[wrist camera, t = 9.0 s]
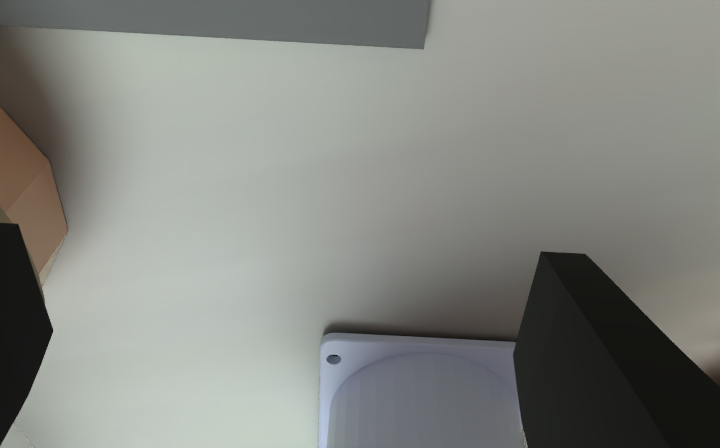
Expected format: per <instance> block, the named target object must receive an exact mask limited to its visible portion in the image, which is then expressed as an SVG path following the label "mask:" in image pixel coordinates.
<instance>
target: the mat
mask: <svg viewBox="0 0 720 448" xmlns="http://www.w3.org/2000/svg"><path fill="white" fill-rule="evenodd" d="M428 7H429V0H0V25H2V26H20V27H38V28H56V29H73V30H91V31H109V32H127V33H144V34H162V35H180V36H198V37H215V38H233V39H251V40H269V41H286V42H304V43H322V44H340V45H357V46H375V47H393V48H411V49H424V43H425V34H426V25H427V16H428Z"/></svg>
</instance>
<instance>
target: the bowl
mask: <svg viewBox="0 0 720 448" xmlns="http://www.w3.org/2000/svg"><path fill="white" fill-rule="evenodd" d="M0 207H1V208H2V209H3V211H4V212H5V213H6V215H7V216H8V218H9V219H10V220H11V222H12V223H15V224H19V227H20V230H21V233H22V236H23V239H24V242H25V245H26V247H27V248H28V250H29V252H30V255H31V257H32V260H33V262H34V265H35V267H36V269H37V272H38V274H39V278H40V282H41V286H42V285H43V283H44V282H45V280H46V277H47V275H48V273H49V271H50V269H51V267H52V264H53V262H54V260H55V258H56V256H57V254H58V252H59V249H60V247H61V245H62V243H63V241H64V239H65V236H66V234H67V232H68V228H67V224H66V221H65V217H64V213H63V210H62V206H61V202H60V199H59V195H58V191H57V188H56V184H55V180H54V177H53V173H52V169H51V166H50V162H49V160H48V159H47V158H46V157H45V156H44V155H43V153H42V152H41V151H40V150H39V149H38V148H37V147H36V146H35V145H34V144H33V142H32V141H31V140H30V139H29V138H28V137H27V136H26V135H25V134H24V132H23V131H22V130H21V129H20V128H19V127H18V126H17V125H16V124H15V122H14V121H13V120H12V119H11V118H10V117H9V116H8V115H7V114H6V113H5V111H4V110H3V109H2V108H1V107H0Z"/></svg>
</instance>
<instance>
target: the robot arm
mask: <svg viewBox="0 0 720 448" xmlns="http://www.w3.org/2000/svg"><path fill="white" fill-rule="evenodd" d="M52 333H53V328H52V325H51V322H50V319H49V316H48V313H47V310H46V307H45V304H44V301H43V298H42V295H41V292H40V288H39V285H38V282H37V279H36V276H35V273H34V270H33V267H32V264H31V261H30V258H29V255H28V252H27V249H26V246H25V242H24V239H23V236H22V233H21V230H20V227H19V224H15V223H0V446H1V444H2V442H3V440H4V439H5V437H6V435H7V433H8V431H9V430H10V428H11V426H12V424H13V422H14V420H15V419H16V417H17V415H18V413H19V411H20V410H21V408H22V406H23V404H24V402H25V400H26V398H27V397H28V394H29V392H30V390H31V387H32V385H33V382H34V380H35V378H36V375H37V373H38V370H39V368H40V365H41V363H42V360H43V357H44V355H45V352H46V349H47V347H48V344H49V341H50V339H51V336H52ZM333 354H335V355H338V356H330V355H333ZM522 429H524V433H525V437H526V441H527V445H528V448H720V387H719V386H718V385H717V384H716V383H715V382H714V381H713V380H712V379H711V378H710V377H708V376H707V375H706V374H705V373H704V372H703V371H702V370H701V369H700V368H699V367H698V366H697V365H696V364H695V363H694V362H693V361H692V360H691V359H690V358H689V357H687V356H686V355H685V354H684V353H683V352H682V351H681V350H680V349H679V348H678V347H677V346H676V345H675V344H674V343H673V342H672V341H671V340H670V339H669V338H668V337H667V336H666V335H665V334H664V333H663V332H662V331H661V330H660V329H659V328H658V327H657V326H656V325H655V324H654V323H653V322H652V321H651V320H650V319H649V318H648V317H647V316H646V315H645V314H644V313H643V312H642V311H641V310H640V309H639V308H638V307H637V306H636V305H635V304H634V303H633V302H632V301H631V300H630V298H629V297H628V296H627V295H626V294H625V293H624V292H623V291H622V290H621V289H620V288H619V287H618V286H617V285H616V284H615V283H614V282H613V281H612V280H611V279H610V278H609V277H608V276H607V275H606V274H605V273H604V272H603V271H602V270H601V269H600V268H599V267H598V266H597V265H596V264H595V263H594V262H593V261H592V260H591V259H590V258H589V257H588V256H587V255H586V254H576V253H558V252H541V253H540V257H539V261H538V264H537V268H536V272H535V275H534V279H533V283H532V286H531V290H530V294H529V297H528V301H527V304H526V308H525V312H524V315H523V319H522V323H521V326H520V330H519V334H518V337H517V341H516V342H506V341H486V340H467V339H448V338H429V337H409V336H390V335H371V334H352V333H329V334H326V335H324V336H323V337H322V339H321V344H320V379H319V435H318V448H525V444H524V440H523V435H522Z"/></svg>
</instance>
